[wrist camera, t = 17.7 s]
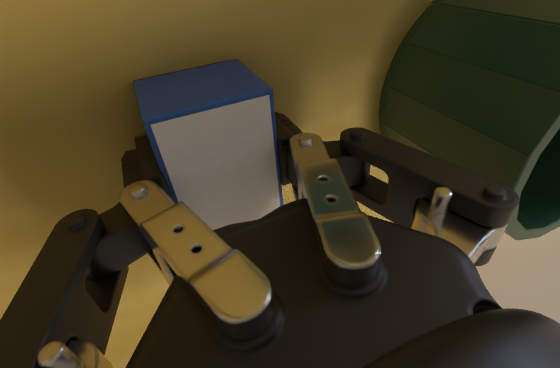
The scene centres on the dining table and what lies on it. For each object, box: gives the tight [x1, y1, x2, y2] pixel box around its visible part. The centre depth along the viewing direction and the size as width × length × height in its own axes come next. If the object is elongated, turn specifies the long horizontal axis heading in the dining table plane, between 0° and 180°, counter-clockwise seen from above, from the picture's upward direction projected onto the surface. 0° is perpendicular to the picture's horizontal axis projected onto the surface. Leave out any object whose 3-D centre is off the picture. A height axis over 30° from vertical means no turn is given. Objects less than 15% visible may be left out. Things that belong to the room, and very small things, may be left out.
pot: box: [380, 0, 560, 240], centre depth 17 cm, size 11×11×8 cm
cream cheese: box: [133, 59, 283, 230], centre depth 14 cm, size 6×4×4 cm
